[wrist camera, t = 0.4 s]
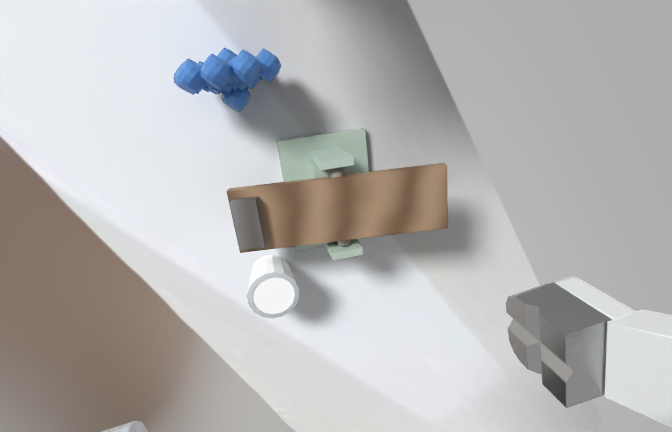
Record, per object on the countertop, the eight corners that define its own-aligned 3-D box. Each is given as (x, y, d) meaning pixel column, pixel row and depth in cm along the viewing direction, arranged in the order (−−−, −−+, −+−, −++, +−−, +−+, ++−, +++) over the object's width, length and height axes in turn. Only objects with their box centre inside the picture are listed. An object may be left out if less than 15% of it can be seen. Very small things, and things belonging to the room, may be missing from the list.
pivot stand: (276, 140, 51) (282, 152, 42) (363, 128, 53) (385, 136, 44) (294, 248, 57) (302, 279, 48) (372, 234, 59) (394, 260, 50)
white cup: (301, 260, 58) (308, 282, 51) (282, 298, 59) (286, 324, 52) (259, 244, 55) (260, 265, 49) (239, 283, 57) (238, 309, 50)
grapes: (194, 117, 48) (177, 126, 37) (177, 59, 46) (154, 51, 35) (285, 100, 50) (295, 105, 39) (274, 44, 47) (281, 32, 36)
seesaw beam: (244, 252, 50) (239, 265, 47) (228, 178, 47) (221, 187, 43) (443, 229, 50) (451, 240, 47) (441, 153, 46) (451, 159, 43)
